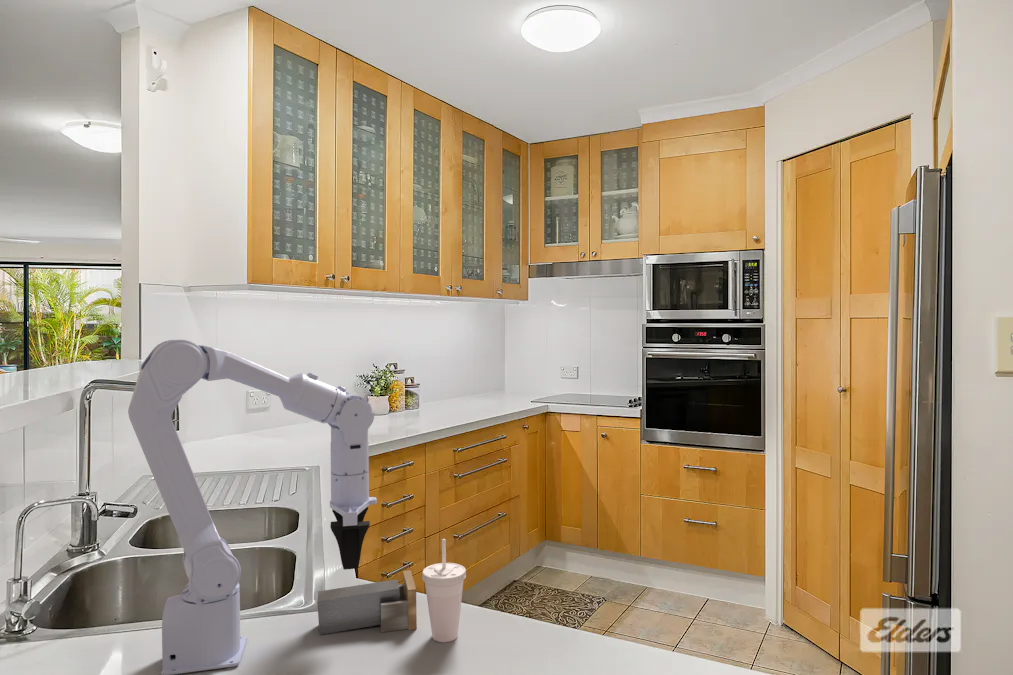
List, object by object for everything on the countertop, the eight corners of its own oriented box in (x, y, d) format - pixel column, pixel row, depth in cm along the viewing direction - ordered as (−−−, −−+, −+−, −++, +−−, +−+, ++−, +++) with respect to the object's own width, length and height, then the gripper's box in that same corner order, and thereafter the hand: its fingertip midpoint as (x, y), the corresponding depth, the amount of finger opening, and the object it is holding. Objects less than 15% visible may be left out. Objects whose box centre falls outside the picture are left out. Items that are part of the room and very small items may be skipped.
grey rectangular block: (399, 610, 100) (397, 579, 100) (401, 621, 96) (399, 588, 96) (320, 623, 97) (318, 591, 97) (319, 634, 93) (317, 601, 93)
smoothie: (466, 624, 96) (465, 532, 96) (467, 645, 89) (465, 547, 89) (424, 627, 95) (422, 534, 95) (421, 648, 89) (420, 549, 89)
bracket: (381, 633, 94) (380, 593, 94) (378, 611, 101) (377, 573, 101) (416, 629, 95) (416, 589, 95) (411, 607, 103) (410, 570, 103)
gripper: (378, 480, 92) (379, 573, 92) (374, 461, 106) (375, 542, 106) (327, 483, 90) (328, 578, 90) (330, 463, 104) (331, 546, 104)
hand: (350, 559), depth 98 cm, fingers open, 7 cm apart
